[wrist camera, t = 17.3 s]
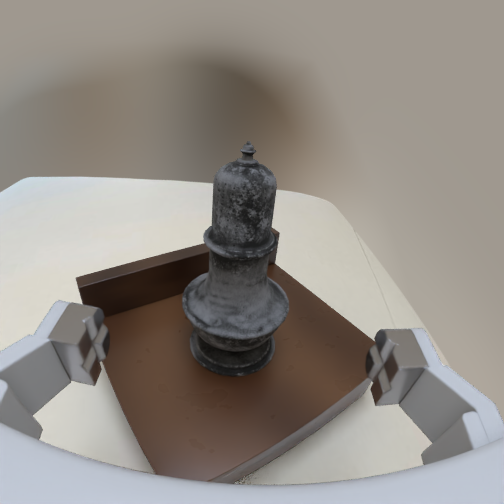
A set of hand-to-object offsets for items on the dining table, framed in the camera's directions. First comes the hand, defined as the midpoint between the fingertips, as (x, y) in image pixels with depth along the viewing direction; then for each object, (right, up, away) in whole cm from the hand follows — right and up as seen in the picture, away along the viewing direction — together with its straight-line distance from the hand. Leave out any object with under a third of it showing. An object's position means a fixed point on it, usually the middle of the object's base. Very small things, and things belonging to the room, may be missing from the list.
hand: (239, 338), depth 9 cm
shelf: (-1, -7, +13) cm, 15 cm away
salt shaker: (-1, -3, +10) cm, 11 cm away
